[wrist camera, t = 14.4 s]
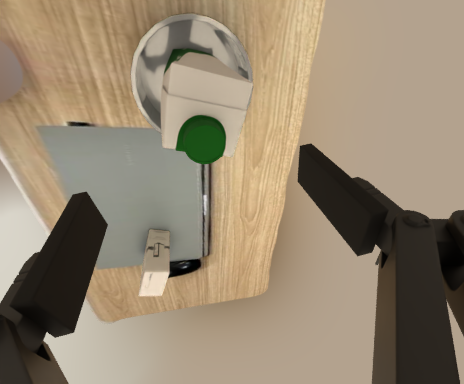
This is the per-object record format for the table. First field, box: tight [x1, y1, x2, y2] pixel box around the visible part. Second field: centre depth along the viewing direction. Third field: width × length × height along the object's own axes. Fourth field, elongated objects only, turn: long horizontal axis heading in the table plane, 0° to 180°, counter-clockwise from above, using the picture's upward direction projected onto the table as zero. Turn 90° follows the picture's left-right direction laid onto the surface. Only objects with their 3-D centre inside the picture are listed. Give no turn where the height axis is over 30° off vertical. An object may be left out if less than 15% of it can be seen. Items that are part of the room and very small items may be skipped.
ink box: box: [139, 229, 170, 296], centre depth 51 cm, size 9×5×12 cm, turn 159°
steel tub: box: [131, 13, 253, 134], centre depth 34 cm, size 16×16×7 cm
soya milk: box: [161, 48, 253, 164], centre depth 29 cm, size 9×9×20 cm
